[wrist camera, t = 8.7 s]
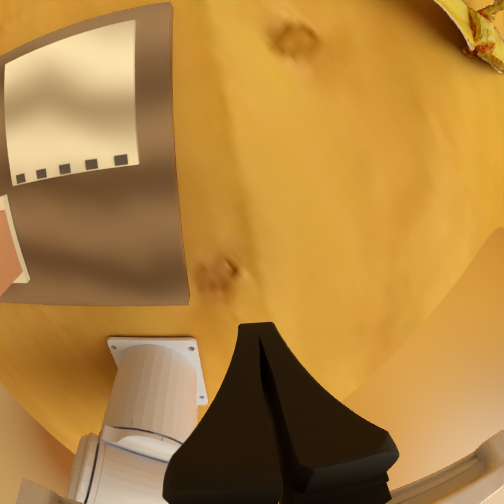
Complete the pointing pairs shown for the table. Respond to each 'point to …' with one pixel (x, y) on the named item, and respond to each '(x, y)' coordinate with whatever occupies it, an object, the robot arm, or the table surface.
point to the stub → (10, 250)
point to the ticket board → (94, 163)
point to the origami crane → (478, 30)
